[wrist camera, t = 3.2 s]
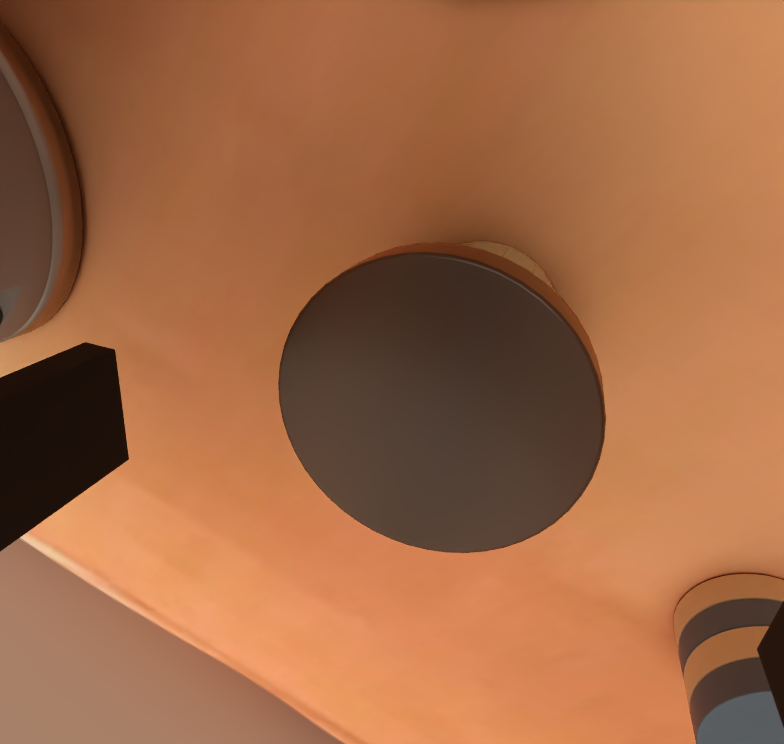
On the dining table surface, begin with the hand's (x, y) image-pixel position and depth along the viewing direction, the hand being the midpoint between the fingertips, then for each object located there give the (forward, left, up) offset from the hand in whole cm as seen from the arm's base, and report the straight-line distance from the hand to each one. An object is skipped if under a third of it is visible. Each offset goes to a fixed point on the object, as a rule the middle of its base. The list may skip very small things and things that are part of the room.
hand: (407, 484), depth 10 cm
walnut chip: (0, 0, -4) cm, 4 cm away
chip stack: (+12, -10, -10) cm, 18 cm away
